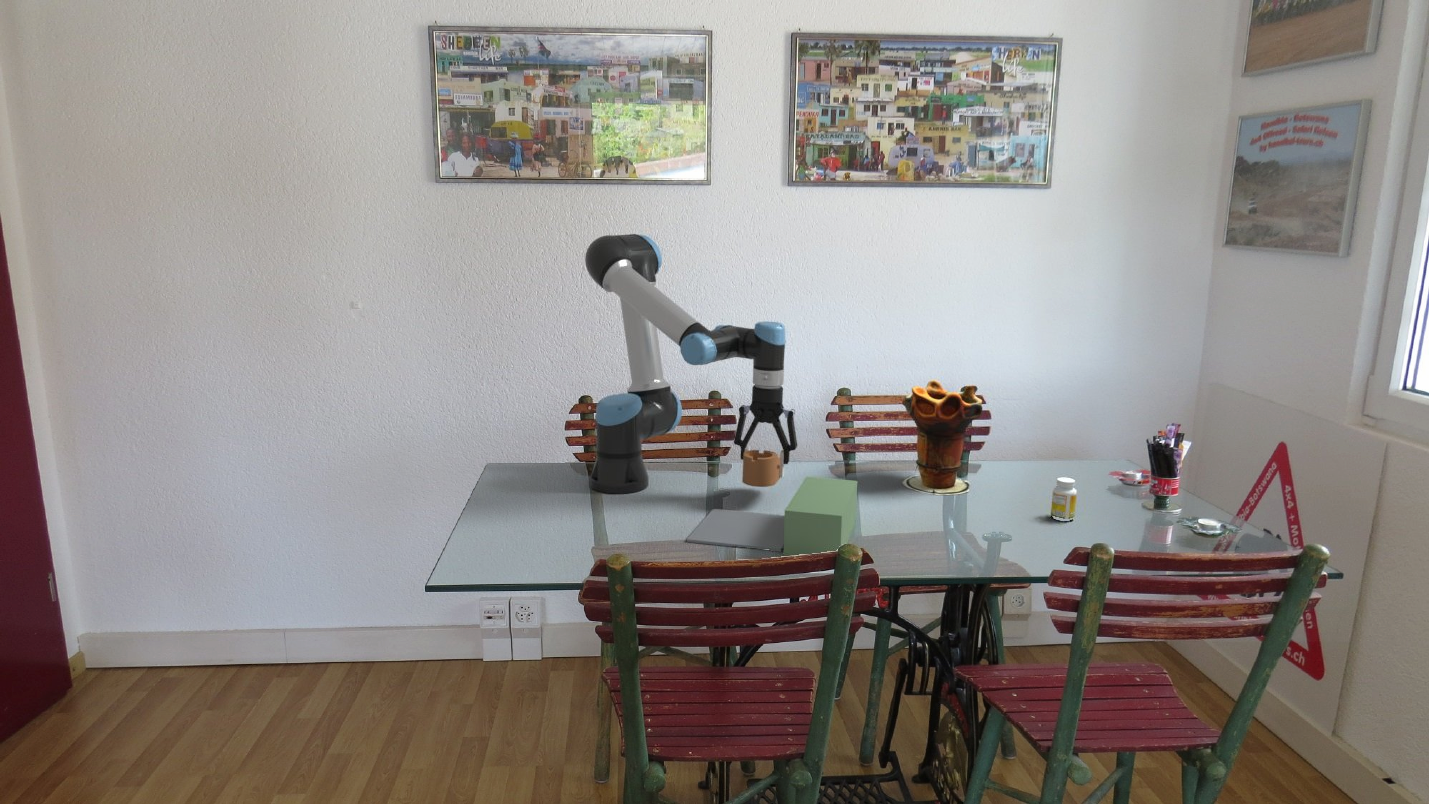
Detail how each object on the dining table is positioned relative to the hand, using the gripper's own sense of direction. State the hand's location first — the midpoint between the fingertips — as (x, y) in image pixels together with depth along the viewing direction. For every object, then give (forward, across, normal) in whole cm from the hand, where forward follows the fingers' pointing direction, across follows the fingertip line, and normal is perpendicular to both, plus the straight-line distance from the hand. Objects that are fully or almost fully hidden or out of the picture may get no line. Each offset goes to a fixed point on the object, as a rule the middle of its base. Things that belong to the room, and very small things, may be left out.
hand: (764, 474), depth 240 cm
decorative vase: (+6, +42, +25) cm, 49 cm away
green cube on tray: (+6, +8, -24) cm, 26 cm away
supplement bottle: (+5, +72, +6) cm, 72 cm away
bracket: (+1, 0, 0) cm, 1 cm away
